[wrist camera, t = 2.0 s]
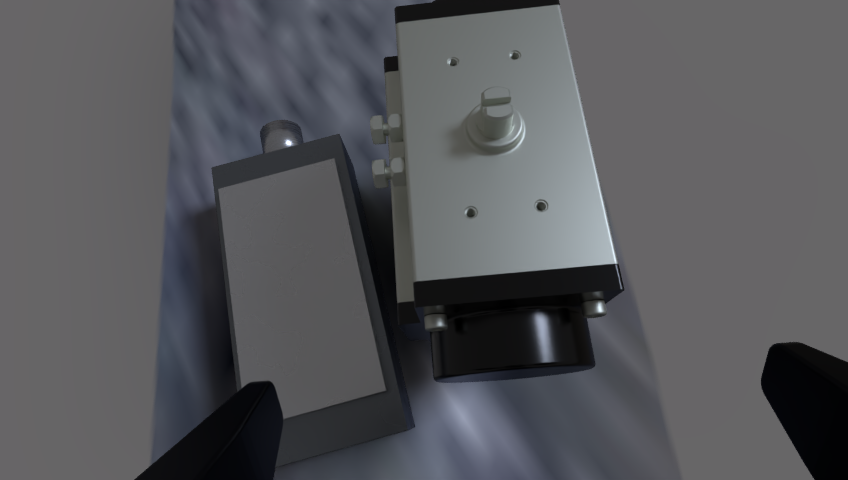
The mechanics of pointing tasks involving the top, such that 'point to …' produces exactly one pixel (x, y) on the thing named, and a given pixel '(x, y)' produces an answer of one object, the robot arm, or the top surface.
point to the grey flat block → (308, 294)
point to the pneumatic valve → (493, 191)
